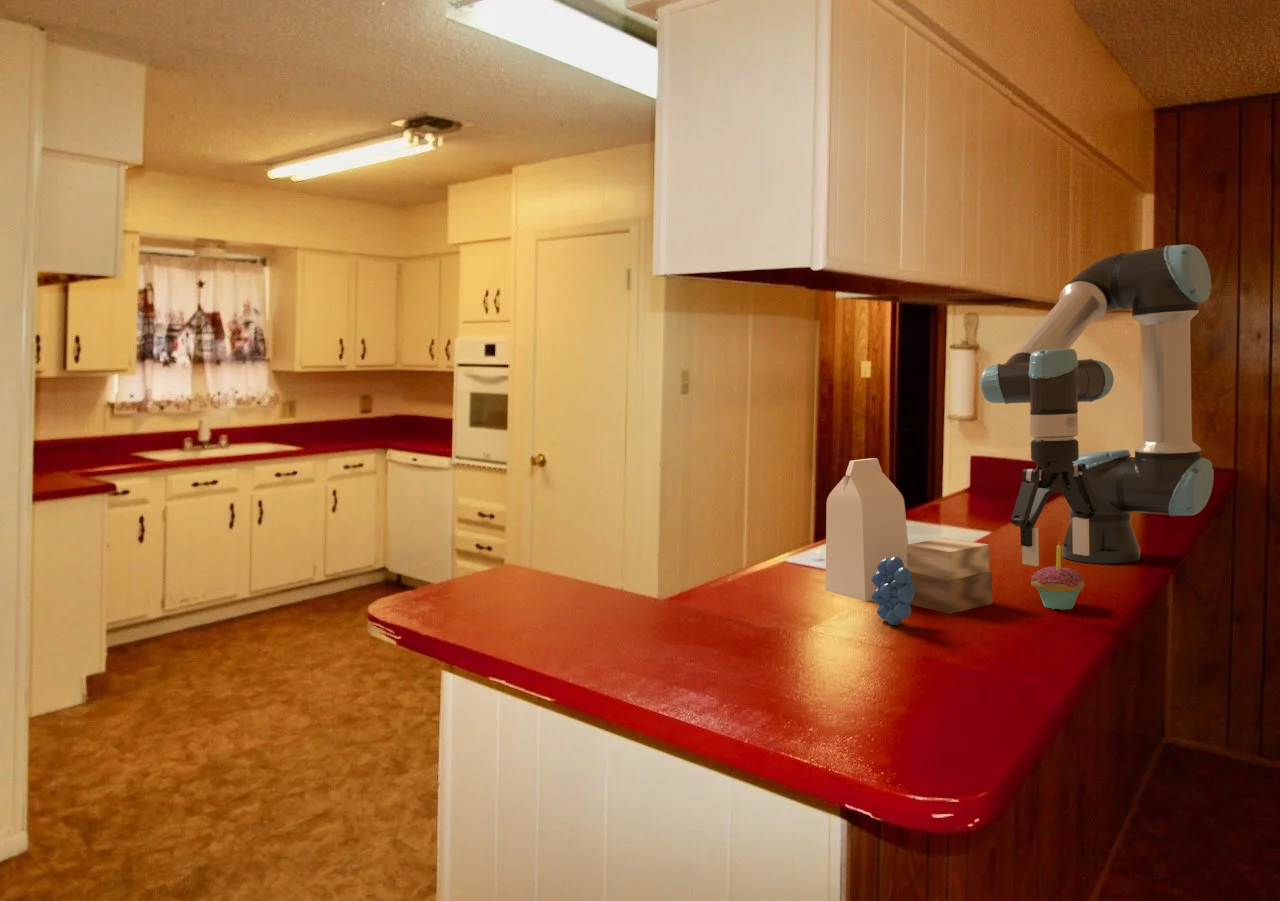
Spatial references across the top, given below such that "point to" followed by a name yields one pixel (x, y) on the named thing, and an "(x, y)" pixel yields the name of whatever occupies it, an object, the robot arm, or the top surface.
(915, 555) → the block top
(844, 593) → the milk
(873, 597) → the grapes
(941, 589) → the block bottom
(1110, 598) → the top surface
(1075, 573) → the cupcake
